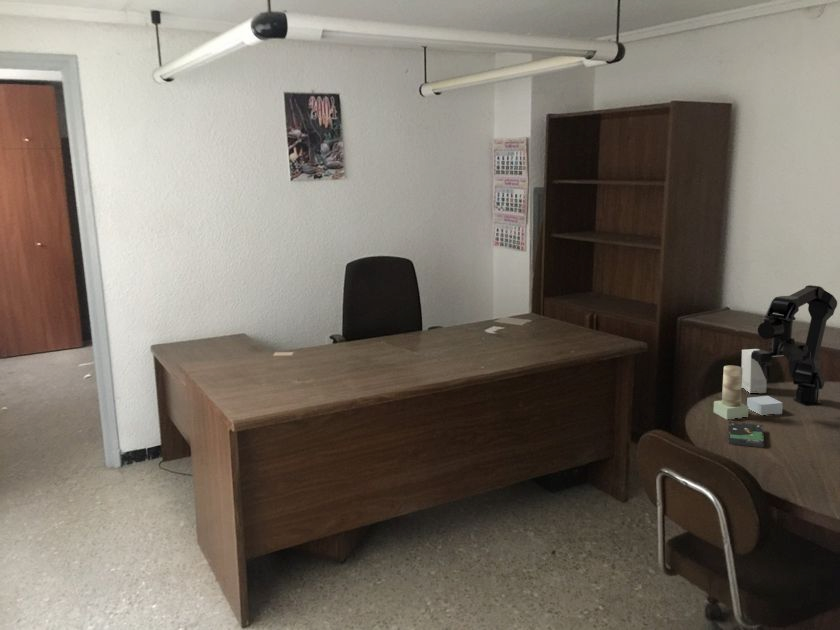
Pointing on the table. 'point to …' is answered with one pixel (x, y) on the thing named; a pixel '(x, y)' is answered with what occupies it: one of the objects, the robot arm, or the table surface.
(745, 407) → the sage block
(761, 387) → the skincare box
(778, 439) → the table surface
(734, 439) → the disk drive
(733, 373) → the birch cylinder
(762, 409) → the blue-grey block
